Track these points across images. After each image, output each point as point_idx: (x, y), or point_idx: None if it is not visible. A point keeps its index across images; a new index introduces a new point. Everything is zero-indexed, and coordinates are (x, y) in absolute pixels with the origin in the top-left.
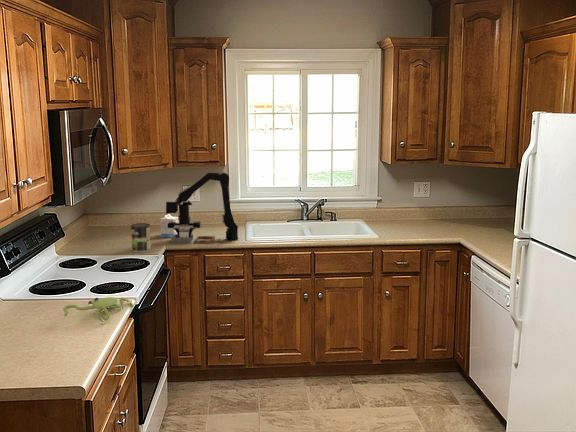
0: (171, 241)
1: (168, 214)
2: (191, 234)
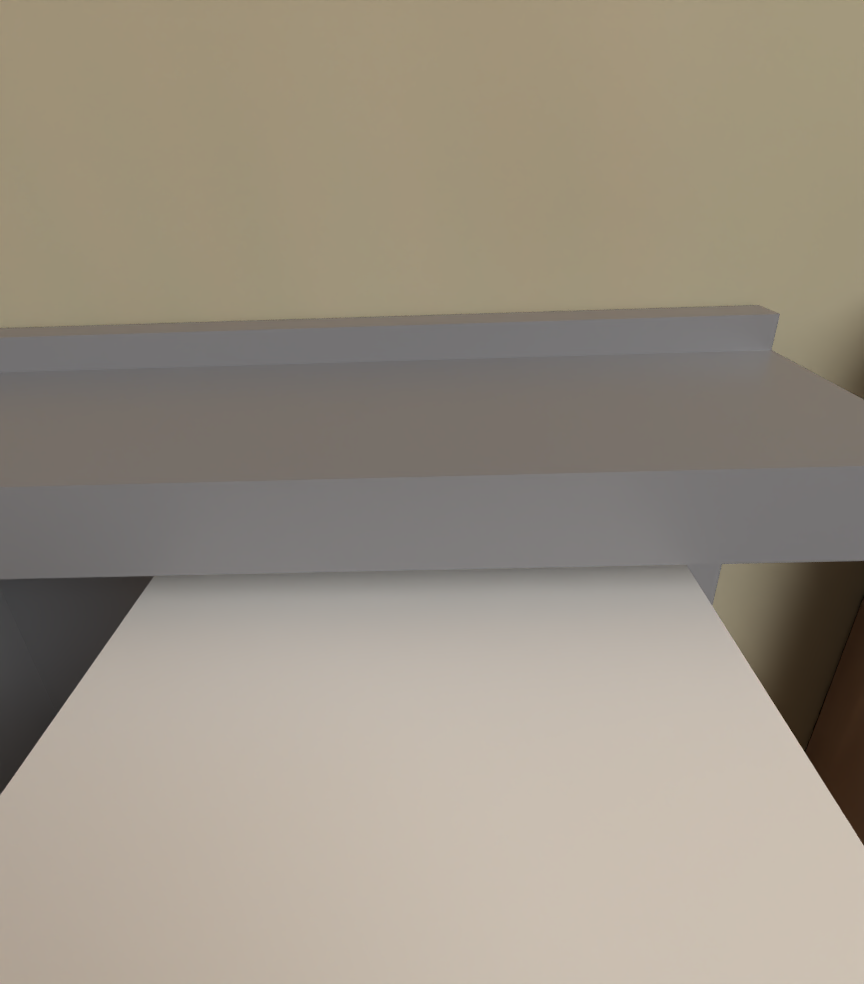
0: None
1: None
2: (831, 557)
